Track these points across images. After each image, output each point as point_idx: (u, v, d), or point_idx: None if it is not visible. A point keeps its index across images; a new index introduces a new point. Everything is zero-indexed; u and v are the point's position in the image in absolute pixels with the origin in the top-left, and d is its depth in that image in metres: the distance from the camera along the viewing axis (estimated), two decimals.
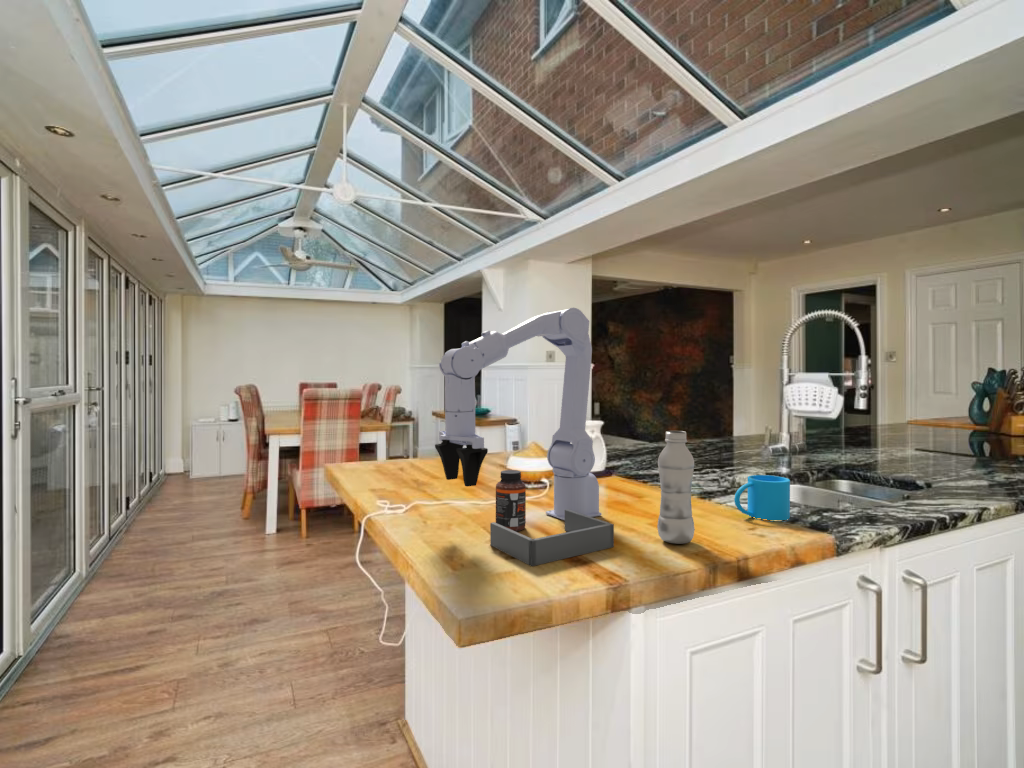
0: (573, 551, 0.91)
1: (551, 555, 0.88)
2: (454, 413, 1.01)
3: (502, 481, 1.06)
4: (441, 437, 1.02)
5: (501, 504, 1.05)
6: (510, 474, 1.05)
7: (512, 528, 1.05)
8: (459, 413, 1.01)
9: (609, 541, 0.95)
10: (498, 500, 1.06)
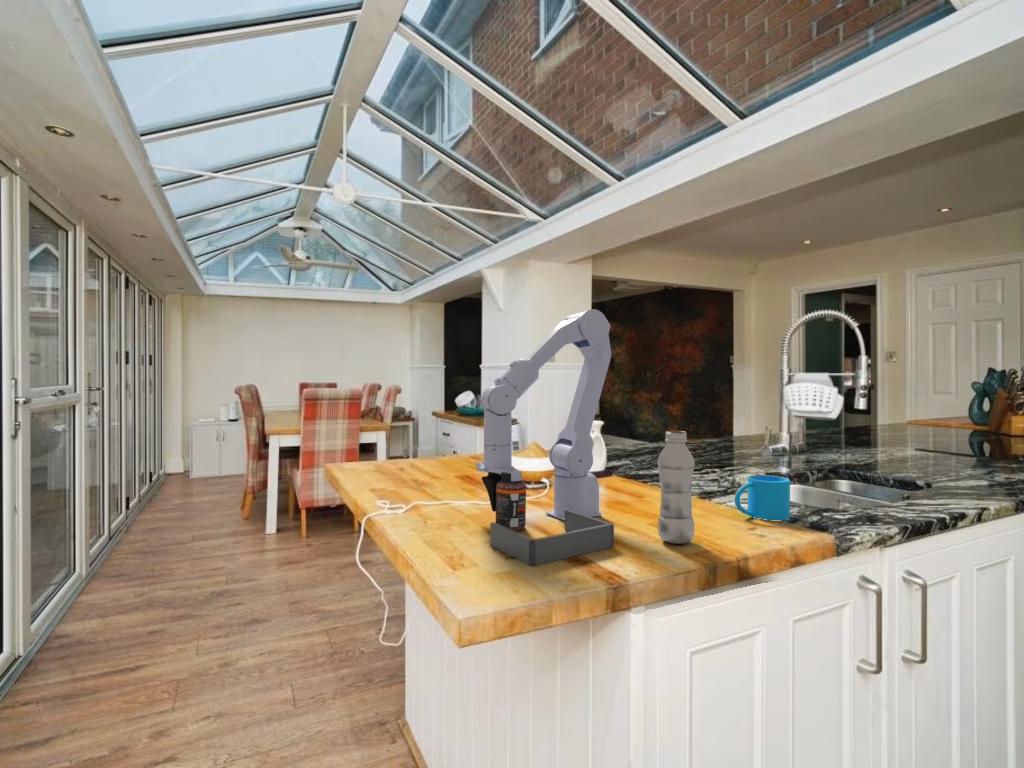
0: (573, 551, 0.91)
1: (551, 555, 0.88)
2: (493, 447, 1.09)
3: (503, 481, 1.06)
4: (480, 469, 1.09)
5: (501, 505, 1.05)
6: None
7: (512, 528, 1.05)
8: (497, 447, 1.08)
9: (609, 541, 0.95)
10: (498, 500, 1.06)
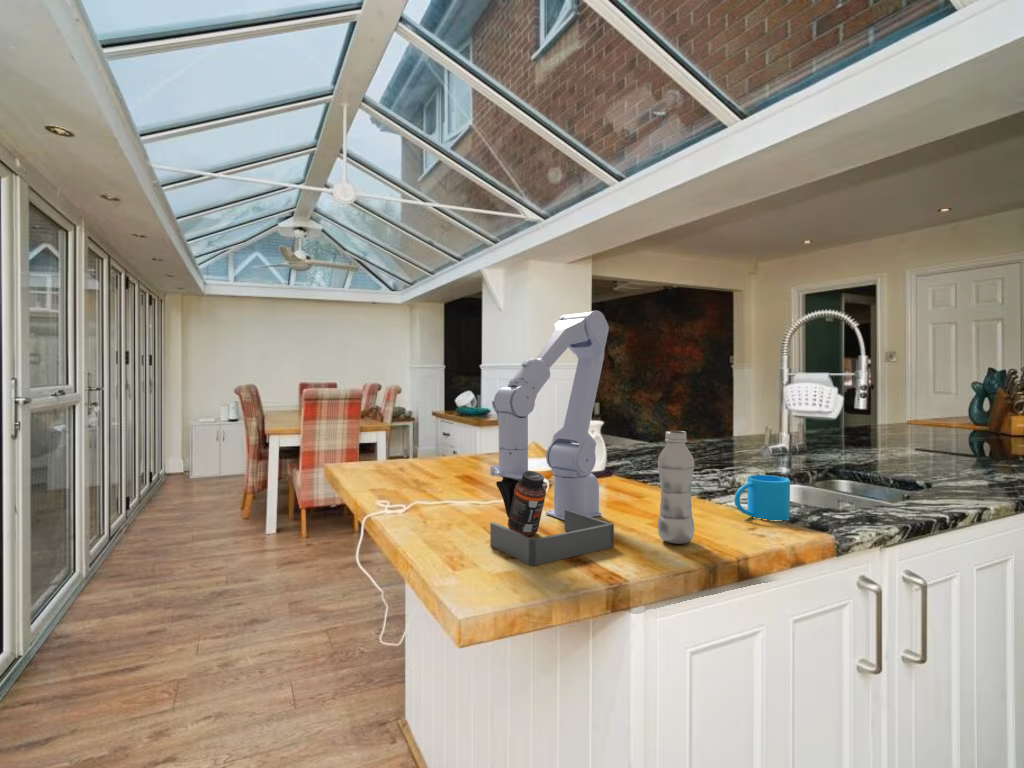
0: (573, 551, 0.91)
1: (551, 555, 0.88)
2: (509, 451, 1.04)
3: (523, 485, 1.00)
4: (495, 474, 1.04)
5: (518, 508, 1.00)
6: (533, 481, 0.99)
7: (525, 533, 1.01)
8: (513, 451, 1.04)
9: (609, 541, 0.95)
10: (515, 503, 1.01)
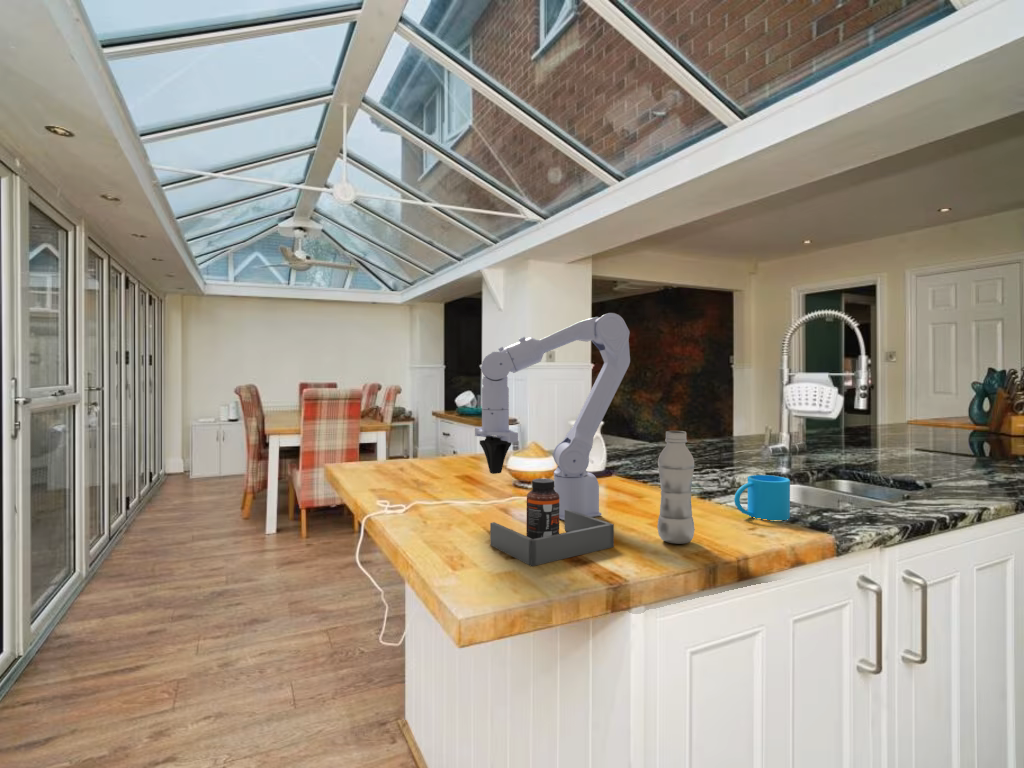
0: (573, 551, 0.91)
1: (551, 555, 0.88)
2: (491, 411, 1.13)
3: (534, 491, 0.97)
4: (479, 432, 1.14)
5: (533, 516, 0.96)
6: (543, 483, 0.96)
7: None
8: (495, 411, 1.13)
9: (609, 541, 0.95)
10: (530, 512, 0.97)
